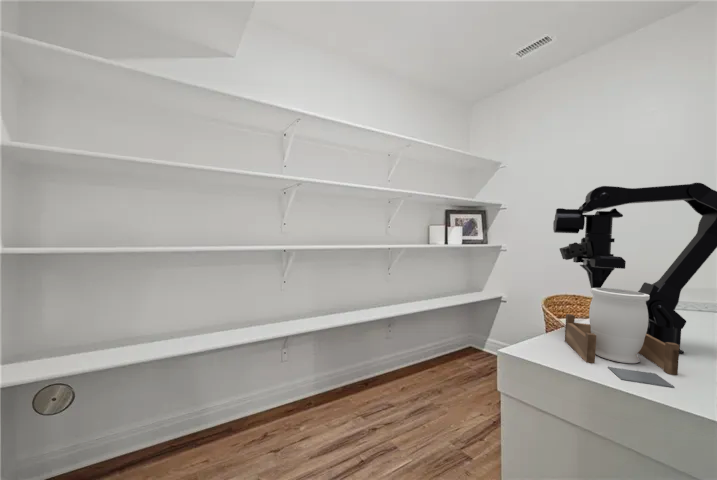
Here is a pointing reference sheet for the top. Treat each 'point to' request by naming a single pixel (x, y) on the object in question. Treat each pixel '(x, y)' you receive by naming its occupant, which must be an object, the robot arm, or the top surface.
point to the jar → (618, 323)
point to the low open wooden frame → (651, 349)
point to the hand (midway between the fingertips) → (594, 292)
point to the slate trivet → (640, 377)
